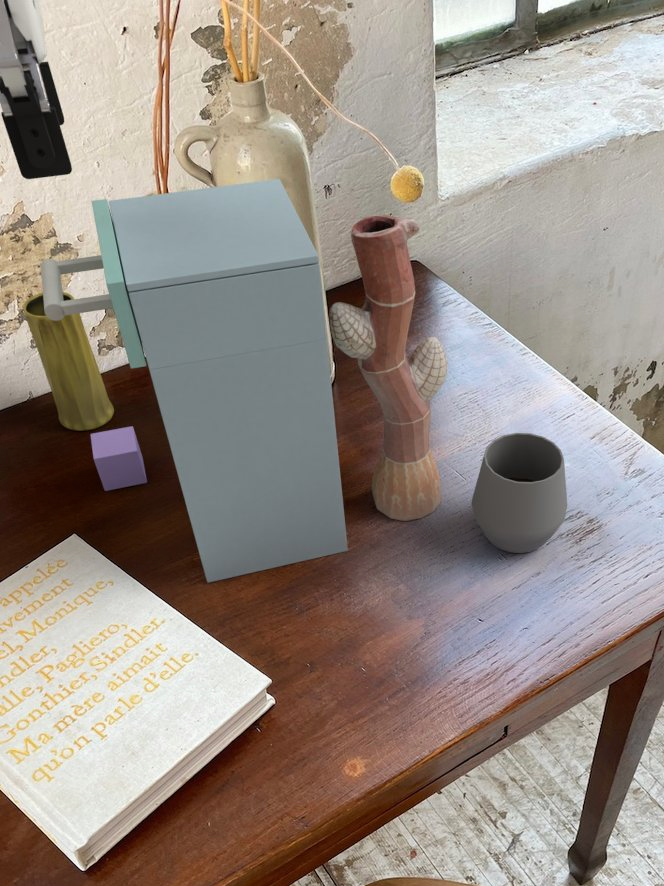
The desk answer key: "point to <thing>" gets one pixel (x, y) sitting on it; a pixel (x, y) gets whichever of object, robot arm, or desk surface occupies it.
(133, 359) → the mint cabinet drawer
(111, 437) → the lavender foam block
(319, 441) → the tall blue pedestal box
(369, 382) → the vase
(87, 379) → the vase
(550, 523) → the cup
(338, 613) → the desk surface
